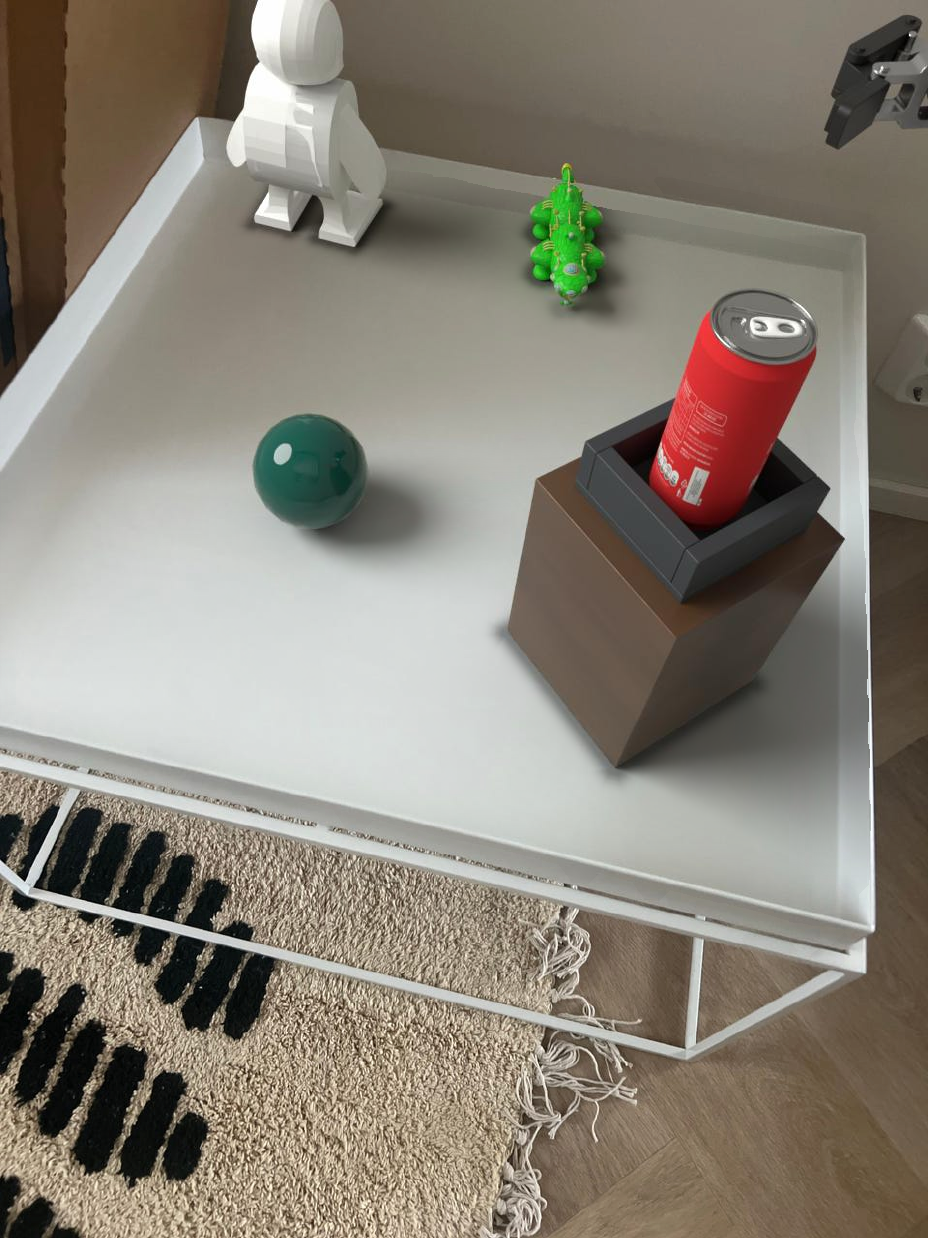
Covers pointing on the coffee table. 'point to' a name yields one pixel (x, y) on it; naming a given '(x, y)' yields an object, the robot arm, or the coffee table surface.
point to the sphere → (310, 471)
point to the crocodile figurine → (566, 239)
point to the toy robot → (306, 124)
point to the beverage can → (732, 404)
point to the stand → (645, 620)
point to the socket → (657, 534)
